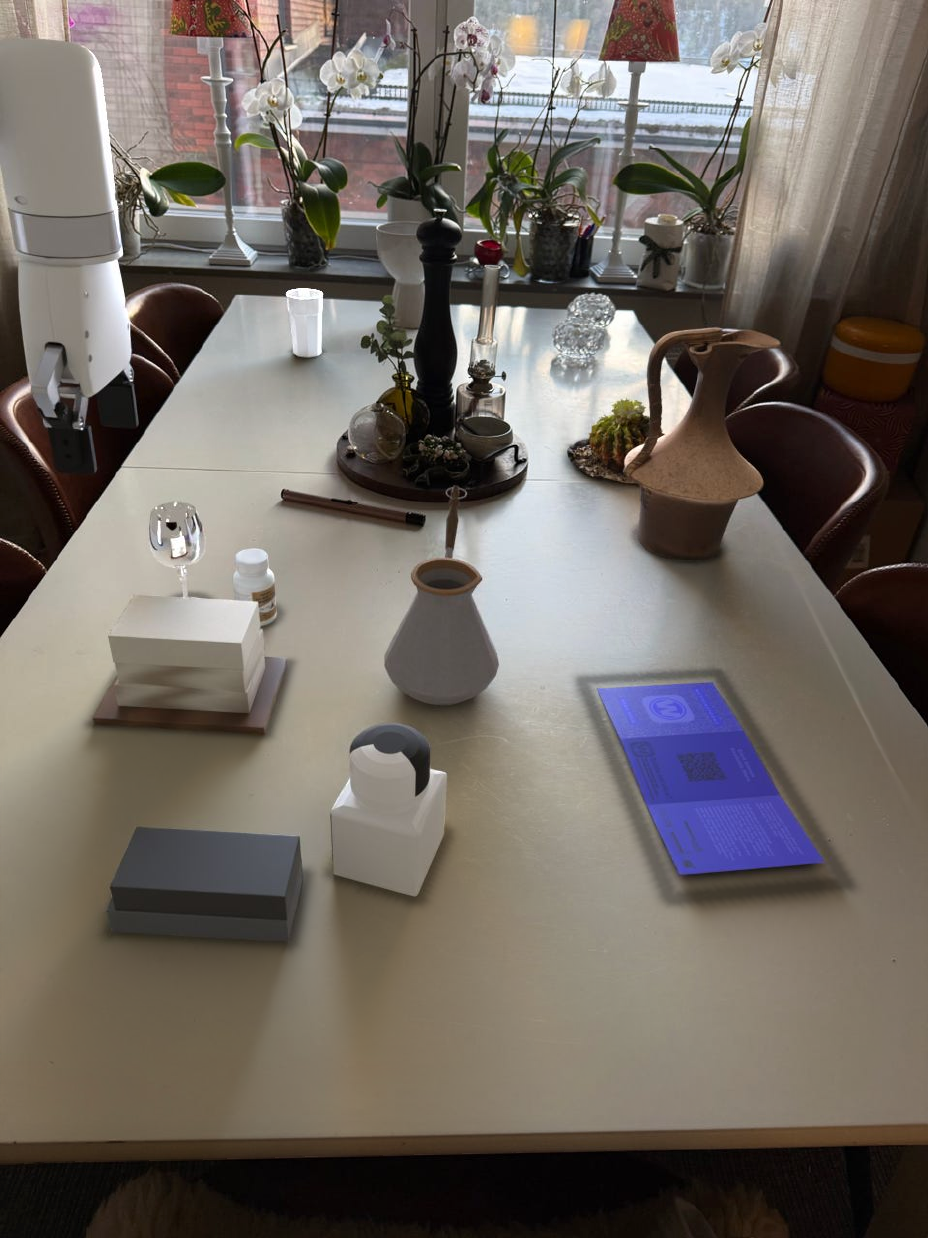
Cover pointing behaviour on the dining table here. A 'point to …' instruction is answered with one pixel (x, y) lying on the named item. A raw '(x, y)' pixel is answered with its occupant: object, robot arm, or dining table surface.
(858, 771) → the dining table surface
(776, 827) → the booklet
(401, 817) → the blocky figurine
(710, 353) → the pitcher
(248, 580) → the pill bottle
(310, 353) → the cup
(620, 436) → the cactus
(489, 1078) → the dining table surface
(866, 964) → the dining table surface
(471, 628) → the coffee pot
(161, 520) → the wineglass
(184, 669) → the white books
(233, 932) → the grey books
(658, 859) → the dining table surface
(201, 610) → the white book
